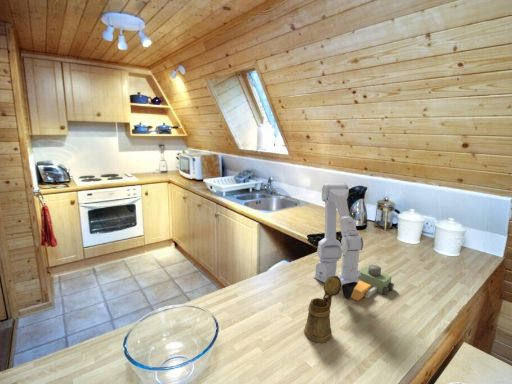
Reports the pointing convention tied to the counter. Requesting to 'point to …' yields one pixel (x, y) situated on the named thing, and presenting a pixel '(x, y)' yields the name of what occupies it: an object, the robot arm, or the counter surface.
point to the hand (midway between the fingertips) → (346, 297)
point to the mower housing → (375, 280)
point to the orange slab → (360, 290)
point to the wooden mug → (322, 312)
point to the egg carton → (321, 237)
